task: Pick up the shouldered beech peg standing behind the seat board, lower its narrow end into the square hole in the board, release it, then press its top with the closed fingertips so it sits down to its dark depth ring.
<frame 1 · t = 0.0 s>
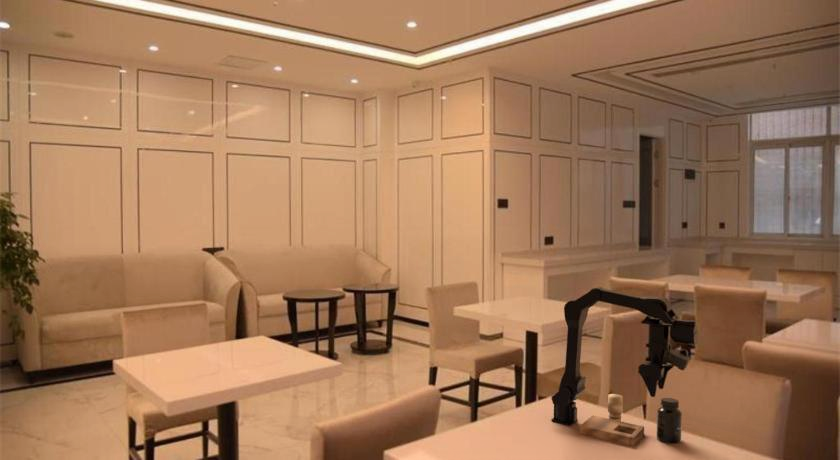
hand: (657, 392, 175), 15 cm above the table, fingers open, 9 cm apart
peg: (614, 424, 190), on the table
supplement bottle: (668, 440, 177), on the table
board: (611, 434, 181), on the table
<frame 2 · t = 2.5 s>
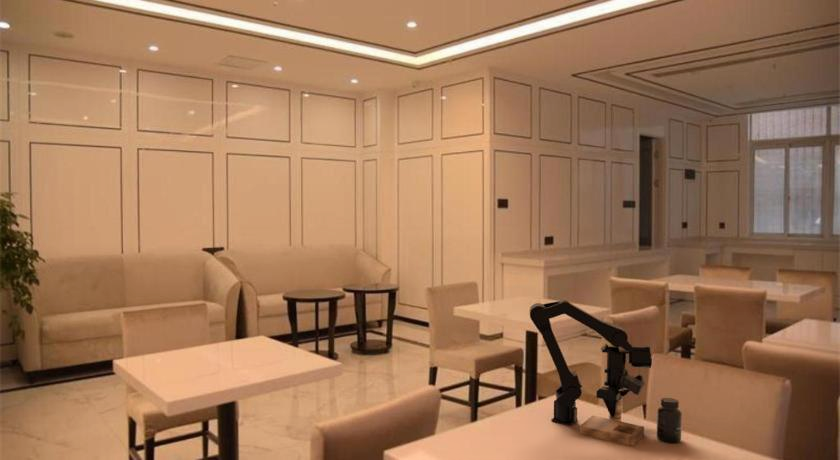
hand: (615, 414, 189), 3 cm above the table, fingers closed on peg, 4 cm apart
peg: (614, 424, 190), on the table, touching gripper
everything else where it was.
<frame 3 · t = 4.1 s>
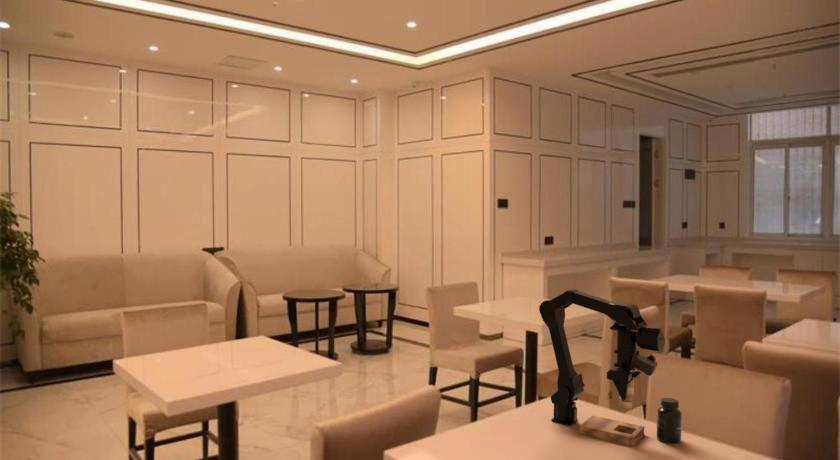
hand: (625, 397, 178), 12 cm above the table, fingers closed on peg, 4 cm apart
peg: (625, 407, 178), point 9 cm above the table, touching gripper
everything else where it was.
when the fingers open (4 cm above the table, at t = 5.7 s): peg drops 1 cm, resting in board.
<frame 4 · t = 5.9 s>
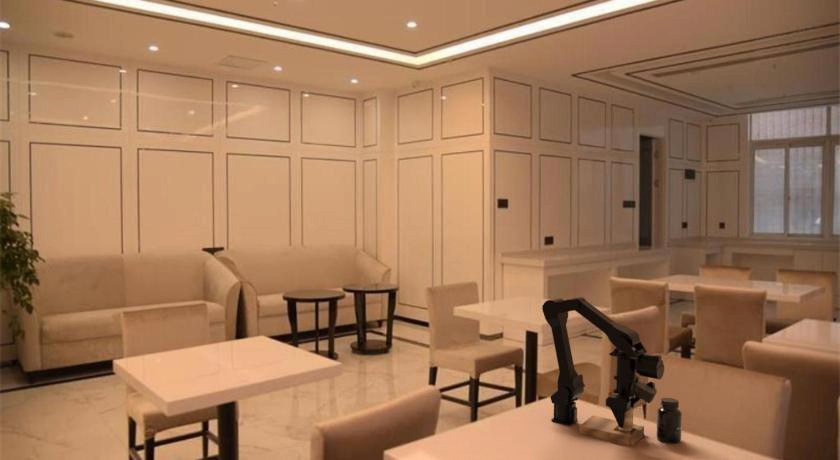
hand: (624, 423, 178), 4 cm above the table, fingers open, 7 cm apart
peg: (624, 437, 178), resting in board
everything else where it was.
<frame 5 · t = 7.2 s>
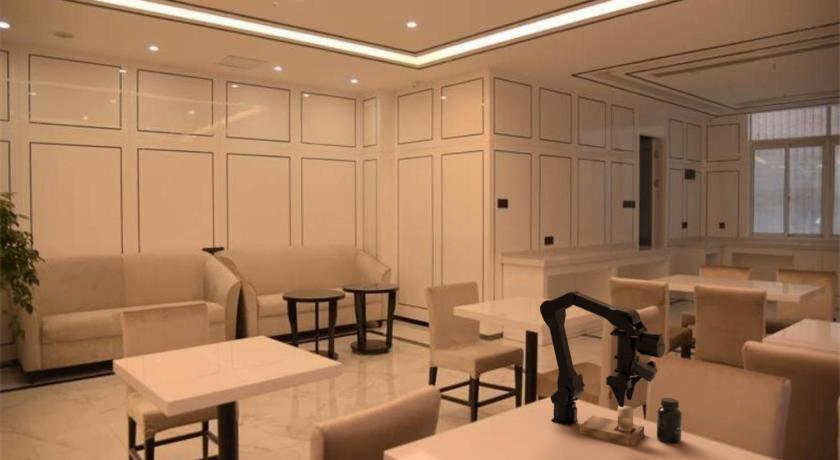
hand: (625, 403, 178), 10 cm above the table, fingers open, 7 cm apart
nothing on the table moved.
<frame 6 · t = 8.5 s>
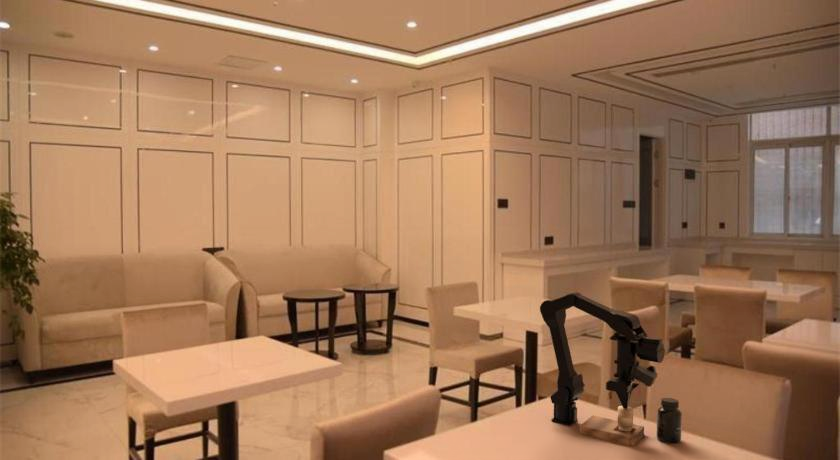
hand: (625, 408, 178), 9 cm above the table, fingers closed
nothing on the table moved.
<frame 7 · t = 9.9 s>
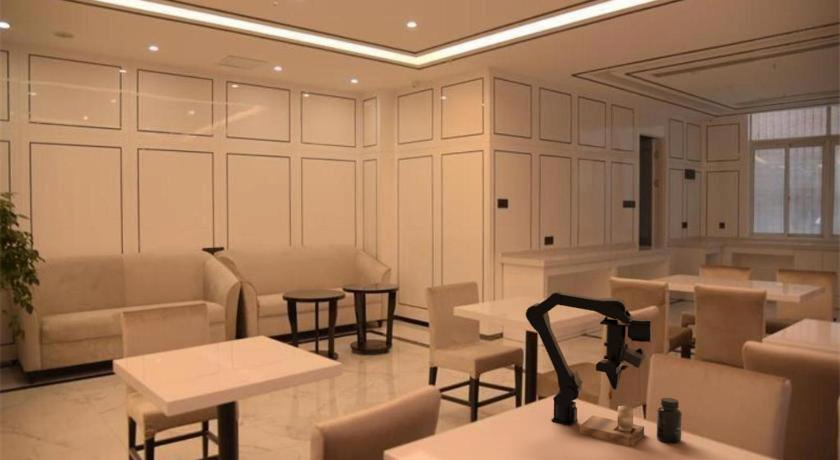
hand: (614, 389, 185), 12 cm above the table, fingers closed
nothing on the table moved.
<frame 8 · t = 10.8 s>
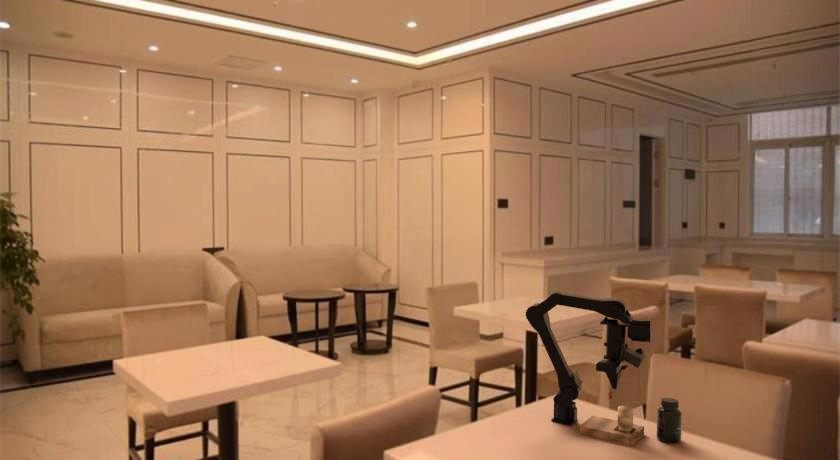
hand: (614, 388, 185), 13 cm above the table, fingers closed
nothing on the table moved.
at the end: peg 0.0 cm from the target spot on the board, point 0.0 cm above the board's base; peg tilted 0°; the gripper is holding nothing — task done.
